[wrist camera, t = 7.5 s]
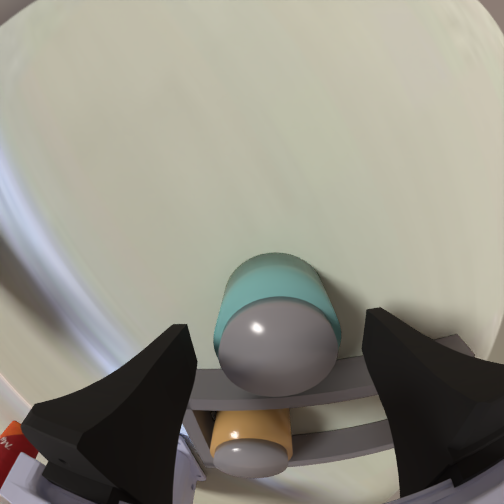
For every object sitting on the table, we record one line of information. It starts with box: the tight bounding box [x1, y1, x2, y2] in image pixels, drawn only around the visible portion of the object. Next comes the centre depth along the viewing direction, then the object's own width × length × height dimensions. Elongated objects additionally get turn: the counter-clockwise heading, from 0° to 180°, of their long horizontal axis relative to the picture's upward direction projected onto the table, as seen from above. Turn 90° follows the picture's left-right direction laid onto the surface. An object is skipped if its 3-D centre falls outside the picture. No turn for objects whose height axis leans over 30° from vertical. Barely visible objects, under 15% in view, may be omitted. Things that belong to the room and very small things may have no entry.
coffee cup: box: [0, 421, 39, 504], centre depth 17 cm, size 8×8×15 cm
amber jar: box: [210, 408, 293, 478], centre depth 15 cm, size 5×5×4 cm
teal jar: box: [213, 253, 341, 397], centre depth 12 cm, size 5×5×4 cm
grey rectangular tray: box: [182, 334, 475, 468], centre depth 15 cm, size 9×18×3 cm, turn 96°
